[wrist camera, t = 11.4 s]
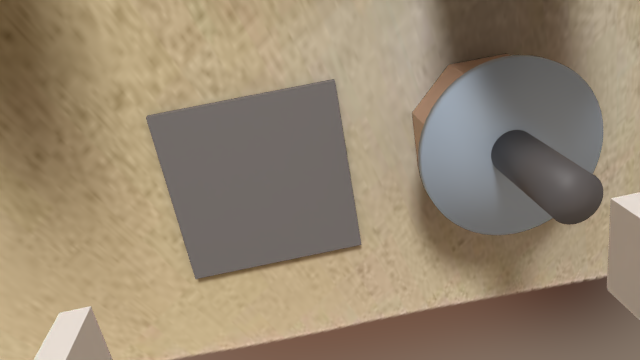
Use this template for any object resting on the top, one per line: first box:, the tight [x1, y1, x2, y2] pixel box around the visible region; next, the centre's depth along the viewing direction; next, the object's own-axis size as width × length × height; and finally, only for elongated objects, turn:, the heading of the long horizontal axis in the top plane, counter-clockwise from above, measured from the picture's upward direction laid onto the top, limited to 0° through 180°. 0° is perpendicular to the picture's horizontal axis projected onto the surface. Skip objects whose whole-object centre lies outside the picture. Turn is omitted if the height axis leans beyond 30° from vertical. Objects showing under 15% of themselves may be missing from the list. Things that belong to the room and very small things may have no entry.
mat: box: [146, 79, 361, 279], centre depth 43 cm, size 14×14×1 cm
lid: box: [418, 55, 603, 235], centre depth 35 cm, size 13×13×9 cm
